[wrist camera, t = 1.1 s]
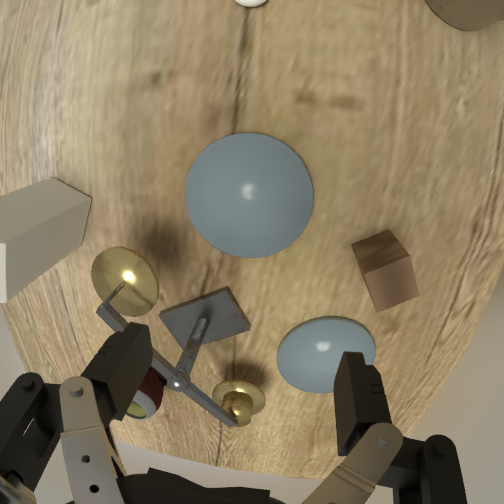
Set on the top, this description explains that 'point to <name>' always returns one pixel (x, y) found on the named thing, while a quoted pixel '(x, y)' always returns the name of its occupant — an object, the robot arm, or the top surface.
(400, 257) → the walnut block
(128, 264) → the balance
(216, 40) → the top surface
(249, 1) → the teacup and saucer
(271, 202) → the pale blue flat disc
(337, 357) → the dish
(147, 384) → the mate gourd
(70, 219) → the milk carton
